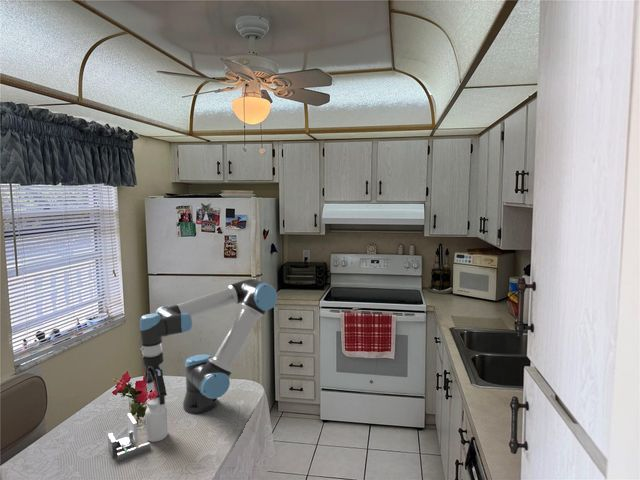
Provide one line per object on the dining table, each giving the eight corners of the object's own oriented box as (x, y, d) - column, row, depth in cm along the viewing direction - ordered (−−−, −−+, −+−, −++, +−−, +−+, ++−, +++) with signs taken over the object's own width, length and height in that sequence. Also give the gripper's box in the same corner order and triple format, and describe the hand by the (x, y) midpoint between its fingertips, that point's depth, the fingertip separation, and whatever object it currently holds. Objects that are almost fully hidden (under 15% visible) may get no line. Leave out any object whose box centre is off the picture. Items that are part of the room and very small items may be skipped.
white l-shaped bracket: (132, 437, 164) (130, 412, 163) (140, 452, 155) (139, 426, 153) (117, 442, 161) (116, 417, 160) (125, 458, 151) (124, 431, 150)
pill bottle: (145, 443, 161) (143, 407, 159) (148, 432, 168) (146, 397, 167) (166, 440, 163) (165, 404, 161) (168, 429, 171) (166, 395, 169)
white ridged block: (142, 436, 166) (142, 422, 165) (150, 449, 157) (149, 434, 157) (108, 448, 158) (107, 433, 157) (115, 462, 150) (114, 447, 149)
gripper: (133, 346, 169) (137, 395, 172) (152, 366, 150) (156, 421, 152) (152, 342, 174) (156, 390, 176) (173, 360, 154) (176, 414, 157)
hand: (156, 404), depth 164 cm, fingers open, 13 cm apart
